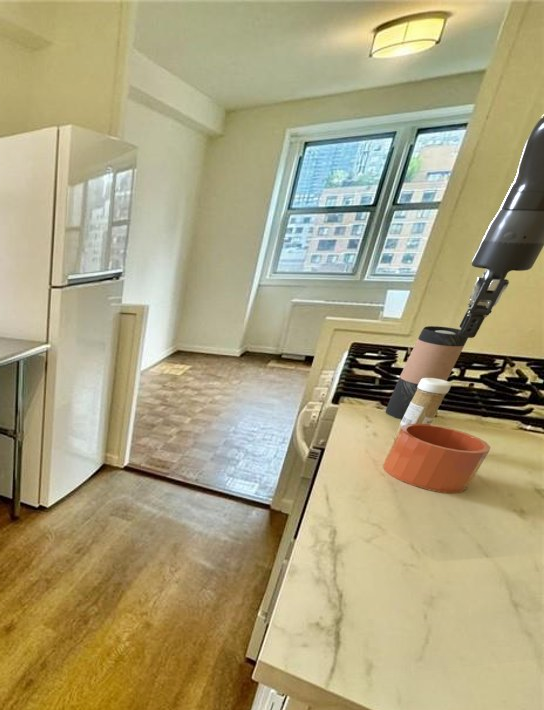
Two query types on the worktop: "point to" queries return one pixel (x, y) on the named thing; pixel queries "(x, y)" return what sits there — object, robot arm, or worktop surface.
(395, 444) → the crock
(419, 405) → the sprinkles bottle
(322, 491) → the worktop surface
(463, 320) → the robot arm
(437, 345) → the travel mug
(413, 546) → the worktop surface
